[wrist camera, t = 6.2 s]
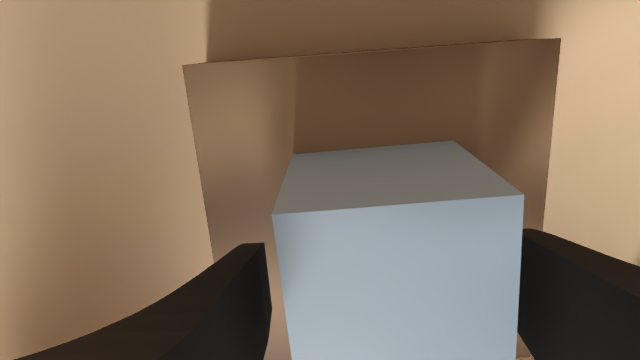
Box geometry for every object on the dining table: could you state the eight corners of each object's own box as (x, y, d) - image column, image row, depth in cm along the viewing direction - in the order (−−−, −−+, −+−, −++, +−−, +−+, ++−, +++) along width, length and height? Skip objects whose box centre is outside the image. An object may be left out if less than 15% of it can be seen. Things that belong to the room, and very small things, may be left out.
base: (503, 315, 18) (530, 356, 15) (244, 326, 18) (231, 368, 16) (522, 39, 14) (560, 38, 12) (205, 62, 15) (182, 65, 13)
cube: (453, 282, 15) (513, 398, 10) (308, 292, 15) (298, 410, 10) (453, 140, 13) (524, 194, 8) (292, 154, 13) (271, 214, 9)
